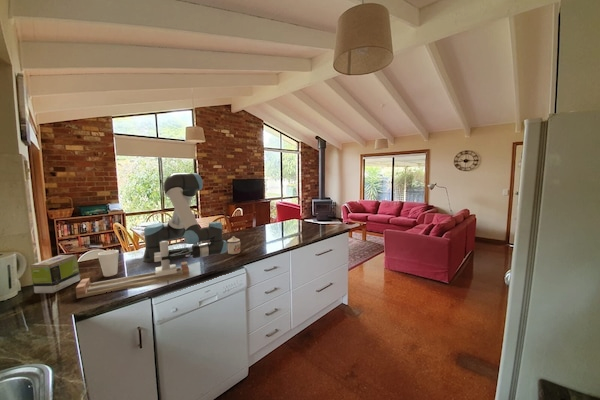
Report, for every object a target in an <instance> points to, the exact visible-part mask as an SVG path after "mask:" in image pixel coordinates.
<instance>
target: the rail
mask: <svg viewBox="0 0 600 400" xmlns="http://www.w3.org/2000/svg"><path fill="white" fill-rule="evenodd" d="M176 269H177V273H174V274H169V275H163V276H158V277H156V274H155V271H152V272H146V273H141V274H135V275H129V276H124V277H119V278H112V279H107V280H101V281H95V282H91V277H87V278H86V277H85V278H82V279H80V280H79V281H80V282H79V283H78V284H76V285H77V286H76V287H75V293H76V295H75V296H76V299H80V298H86V297H90V296H91V297H92V296H95V295H100V294H101V295H103V294H107V293H112V292H117V291H121V290H127V289H132V288H136V287H142V286H147V285H151V284H152V285H153V284H157V283H162V282H167V281H173V280H179V279H183V278H188V277H190V268H189V265H188V261H182V262H180V267H176ZM111 291H112V292H111ZM106 292H107V293H106Z"/></svg>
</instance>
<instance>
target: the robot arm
mask: <svg viewBox="0 0 600 400" xmlns="http://www.w3.org/2000/svg"><path fill="white" fill-rule="evenodd" d="M203 187H204V182H203V179H202V177H201V175H200V174H198V173H194V172H187V173H183V172H182V173H181V172H180V173H178V172H175V173H172V174H170V175H167V177H166V178H165V180H164V182H163V191H164V194H165V196H166V197H167V198H169V200H170V202H171V204H172V206H173V209H174V210H173V214H172V216H171V218H170V219H168V222H167V223H166V224H165V223H162V222H157V223H151V224H149V225H147V226H145V227H144V229H143V230H144V231H143V235H144V245H145V249H144V254H143V262H145V263H157V262H161V261H164V260H168V259H169V262H172V261H176V260H182V259H190V258H191V256H192V258H193V259H196V258H200V257H202V258H203V257H205V258H206V257H207V256H213V255H221V254H225V253H228V243H227V241H226V240H225V239H224V238H223V237H224V235H223V231H224V230H223V229H224V228H223V223H222V222H221V221H211V222H209V223H208V226H205V227H201V226H200V225H199V223H198V220H197V219H196V216H195V215H194V213H193V211H192V209H191V207H190V206H191V203H192V200H193V198H194V197H195V196H196V195H197V193H198V192H200V191H201V190H203ZM183 238H184V242H185V243H186V244H188V245H191V248H188V247H182V248H181V247H180V248H174V249H169V254H168V255H162V256H161V253H160V242H161V241H168V242H169V241H173V240H179V239H183ZM204 241H209V242H205V243H203V242H204ZM201 242H202V243H201ZM199 243H200V244H199Z"/></svg>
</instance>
